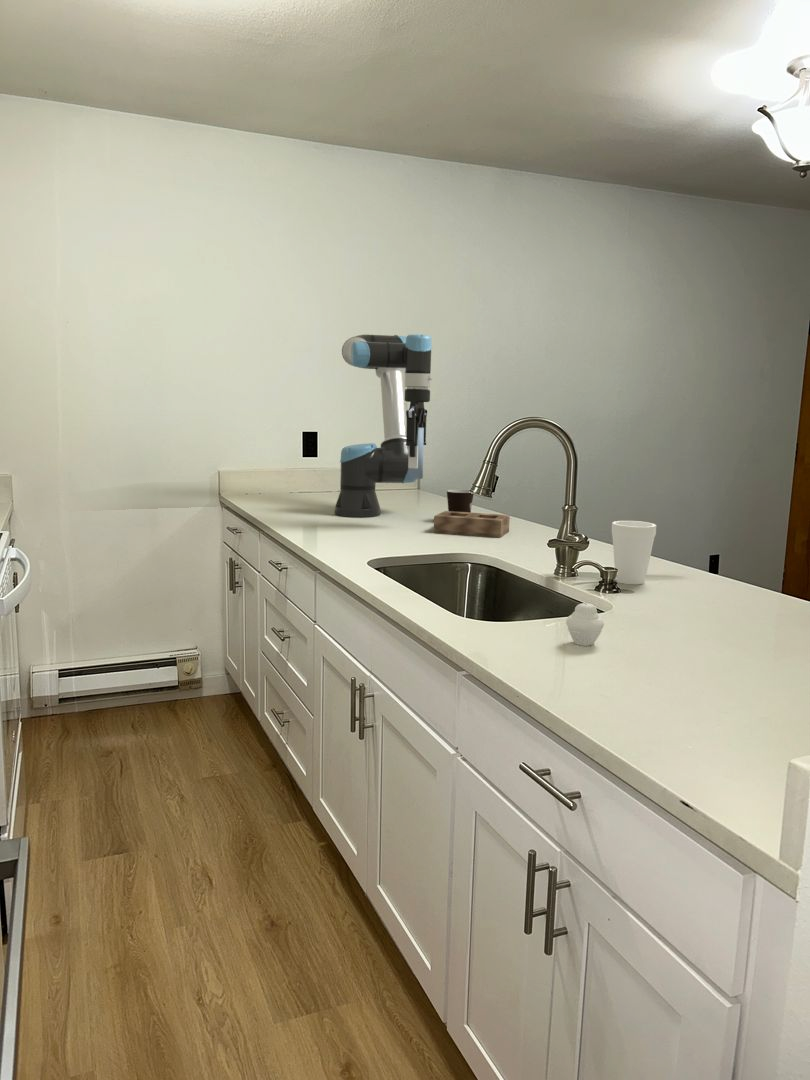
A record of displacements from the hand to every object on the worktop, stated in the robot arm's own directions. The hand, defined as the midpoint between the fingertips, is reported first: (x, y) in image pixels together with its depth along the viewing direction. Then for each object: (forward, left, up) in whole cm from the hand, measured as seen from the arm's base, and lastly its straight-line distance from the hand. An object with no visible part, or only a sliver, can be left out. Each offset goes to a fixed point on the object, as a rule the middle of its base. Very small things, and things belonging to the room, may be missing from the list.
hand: (415, 467), depth 254 cm
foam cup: (+67, -50, -19) cm, 86 cm away
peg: (0, 0, -3) cm, 3 cm away
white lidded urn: (+63, -103, -19) cm, 122 cm away
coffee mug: (+10, +19, -19) cm, 28 cm away
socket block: (+18, 0, -18) cm, 26 cm away
